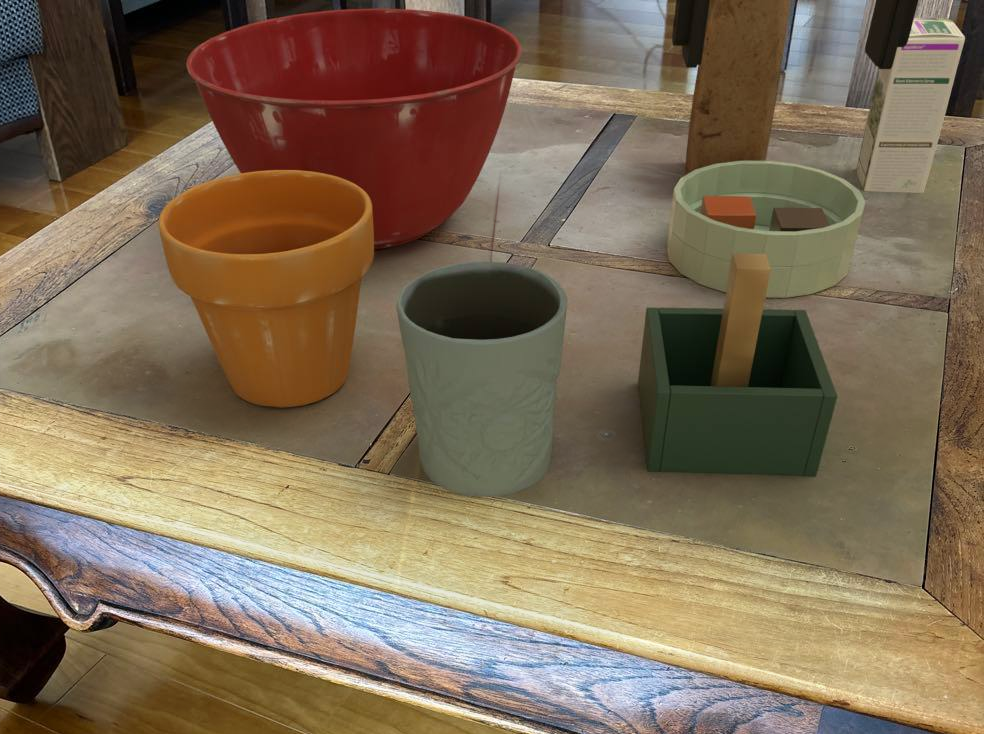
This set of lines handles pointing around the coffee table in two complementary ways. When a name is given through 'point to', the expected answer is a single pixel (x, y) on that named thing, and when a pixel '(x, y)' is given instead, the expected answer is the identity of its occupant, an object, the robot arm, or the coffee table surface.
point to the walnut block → (797, 219)
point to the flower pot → (274, 277)
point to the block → (737, 82)
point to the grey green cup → (483, 373)
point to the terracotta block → (730, 210)
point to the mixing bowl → (364, 104)
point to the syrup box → (910, 109)
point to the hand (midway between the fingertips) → (783, 60)
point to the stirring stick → (740, 320)
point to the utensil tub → (733, 397)
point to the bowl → (765, 226)
